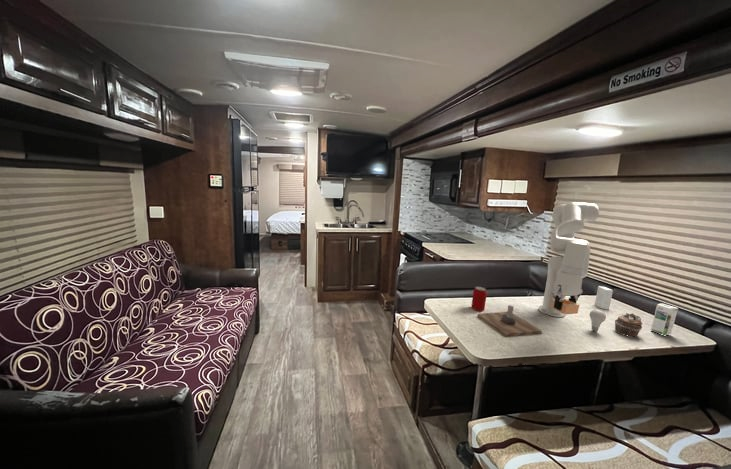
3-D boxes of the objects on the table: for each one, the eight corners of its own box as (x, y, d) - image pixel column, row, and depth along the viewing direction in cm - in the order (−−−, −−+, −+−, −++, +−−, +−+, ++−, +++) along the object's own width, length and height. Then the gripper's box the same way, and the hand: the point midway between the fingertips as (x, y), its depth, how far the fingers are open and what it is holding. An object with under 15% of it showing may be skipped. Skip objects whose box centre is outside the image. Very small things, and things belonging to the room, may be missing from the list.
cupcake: (623, 327, 143) (627, 309, 142) (644, 338, 134) (649, 318, 132) (607, 328, 142) (611, 309, 140) (628, 338, 132) (633, 318, 131)
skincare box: (609, 309, 166) (613, 290, 164) (602, 309, 166) (606, 289, 164) (600, 305, 172) (605, 286, 170) (593, 304, 172) (597, 286, 170)
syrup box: (649, 331, 142) (656, 304, 139) (656, 329, 144) (663, 302, 141) (664, 337, 136) (672, 308, 134) (671, 335, 139) (678, 307, 136)
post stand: (509, 314, 151) (512, 297, 149) (541, 333, 132) (545, 314, 130) (477, 316, 146) (479, 299, 144) (505, 336, 127) (508, 317, 125)
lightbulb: (598, 335, 134) (603, 313, 132) (583, 329, 139) (588, 308, 137) (604, 333, 137) (609, 311, 135) (590, 327, 142) (594, 306, 140)
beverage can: (482, 307, 158) (485, 286, 156) (486, 312, 151) (489, 291, 149) (469, 306, 158) (472, 285, 156) (473, 311, 152) (475, 289, 150)
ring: (562, 306, 129) (564, 298, 128) (577, 313, 123) (579, 304, 122) (550, 307, 127) (552, 299, 127) (564, 314, 121) (566, 305, 120)
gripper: (578, 266, 127) (571, 303, 131) (548, 267, 123) (541, 306, 126) (596, 272, 120) (587, 311, 123) (564, 273, 116) (556, 313, 119)
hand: (564, 308), depth 125 cm, fingers closed on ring, 7 cm apart
